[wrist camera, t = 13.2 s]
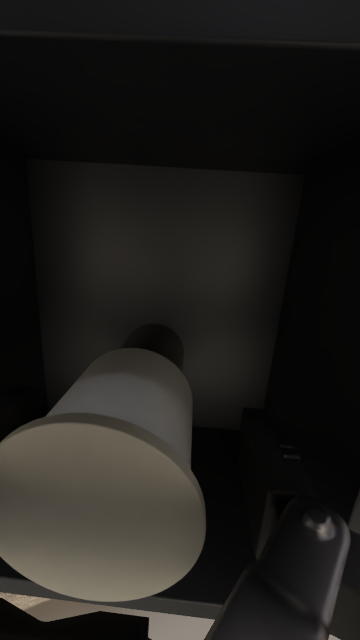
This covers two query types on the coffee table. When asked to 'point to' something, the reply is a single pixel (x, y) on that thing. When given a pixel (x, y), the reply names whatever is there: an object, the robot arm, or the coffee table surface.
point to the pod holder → (157, 342)
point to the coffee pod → (106, 484)
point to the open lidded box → (190, 230)
